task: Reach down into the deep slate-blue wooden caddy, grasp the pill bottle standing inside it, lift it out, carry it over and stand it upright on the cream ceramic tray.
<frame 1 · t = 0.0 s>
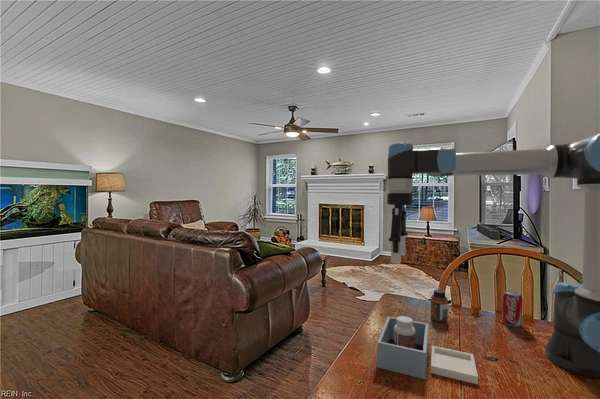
hand: (398, 259, 94), 28 cm above the table, fingers open, 13 cm apart
caddy: (404, 355, 88), on the table
tray: (452, 366, 83), on the table
supplement bottle: (438, 320, 115), on the table
pill bottle: (404, 356, 88), resting in caddy
soda can: (511, 324, 111), on the table
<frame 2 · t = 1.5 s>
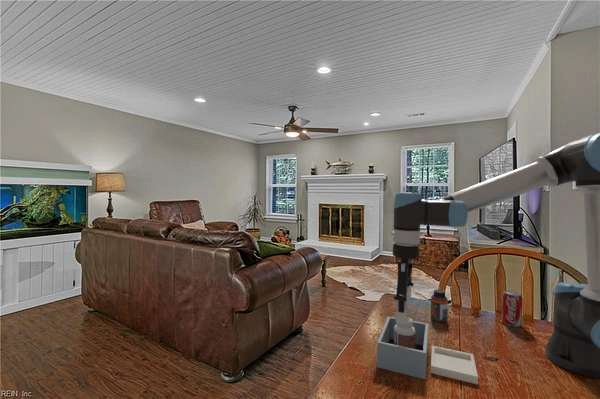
hand: (403, 314, 88), 12 cm above the table, fingers open, 13 cm apart
nothing on the table moved.
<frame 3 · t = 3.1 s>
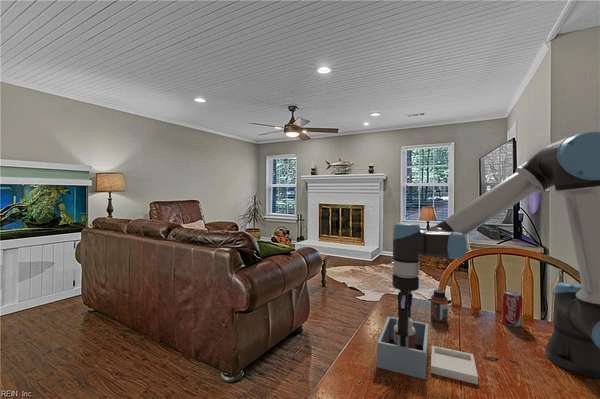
hand: (404, 350, 88), 1 cm above the table, fingers closed on pill bottle, 6 cm apart
pill bottle: (404, 356, 88), resting in caddy, touching gripper
everything else where it was.
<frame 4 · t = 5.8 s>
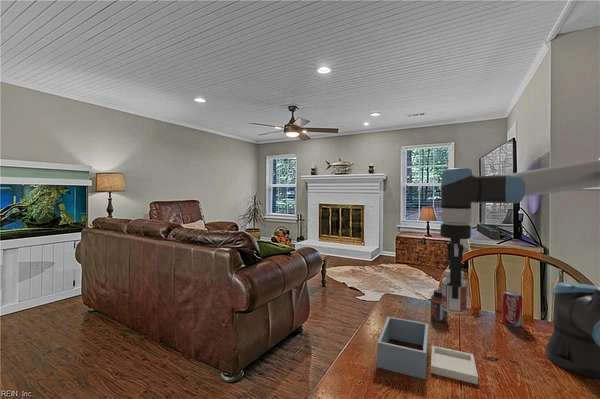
hand: (453, 305, 83), 17 cm above the table, fingers closed on pill bottle, 6 cm apart
pill bottle: (453, 311, 83), point 16 cm above the table, touching gripper
everything else where it was.
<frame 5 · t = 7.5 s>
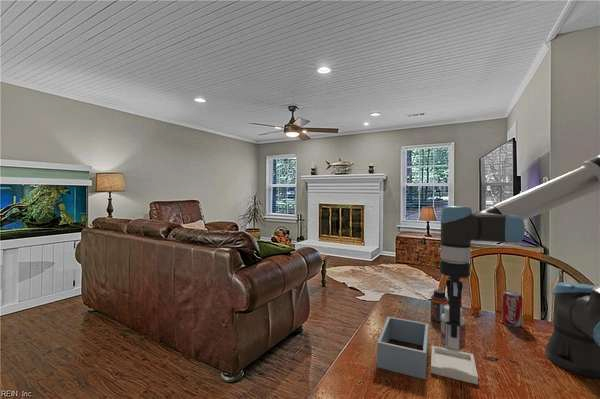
hand: (452, 342, 83), 7 cm above the table, fingers closed on pill bottle, 6 cm apart
pill bottle: (452, 347, 83), point 5 cm above the table, touching gripper
everything else where it was.
when the fingers open (4 cm above the table, at t = 8.6 s): pill bottle drops 1 cm, resting on tray.
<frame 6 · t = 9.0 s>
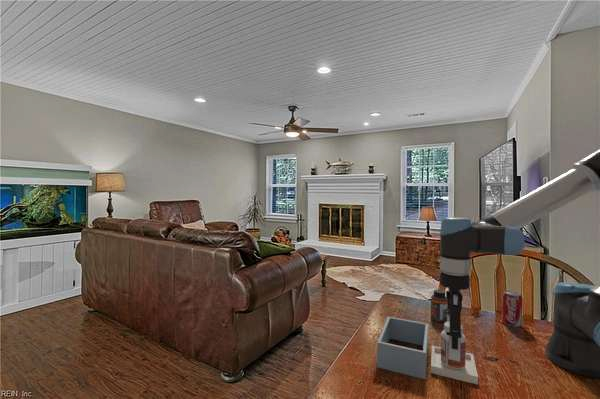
hand: (453, 348, 83), 5 cm above the table, fingers open, 12 cm apart
pill bottle: (452, 364, 83), point 1 cm above the table, touching tray
everything else where it was.
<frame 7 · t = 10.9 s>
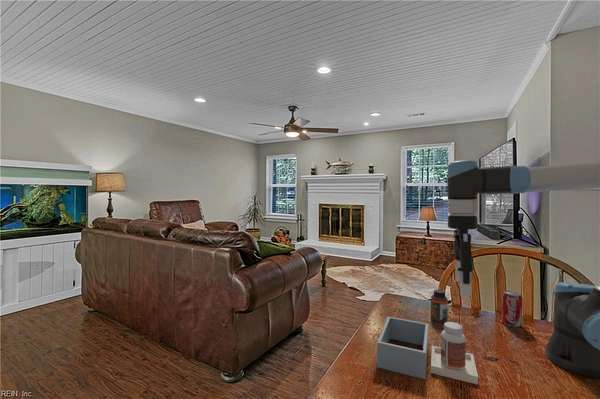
hand: (462, 288, 85), 22 cm above the table, fingers open, 13 cm apart
nothing on the table moved.
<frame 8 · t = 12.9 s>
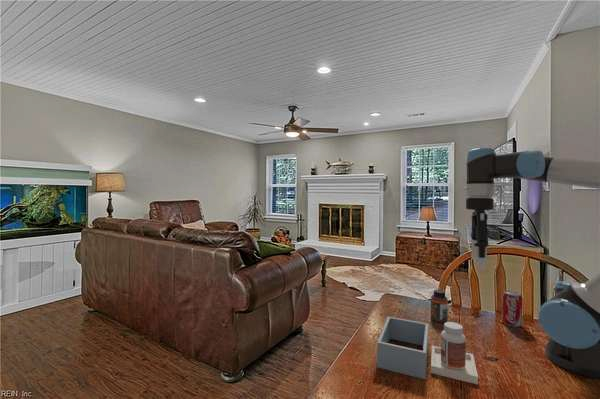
hand: (478, 263, 94), 27 cm above the table, fingers open, 13 cm apart
nothing on the table moved.
at the end: pill bottle inside the target area on the tray (0.2 cm from its centre), point 0.6 cm above the tray's base; pill bottle tilted 0°; the gripper is holding nothing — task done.
